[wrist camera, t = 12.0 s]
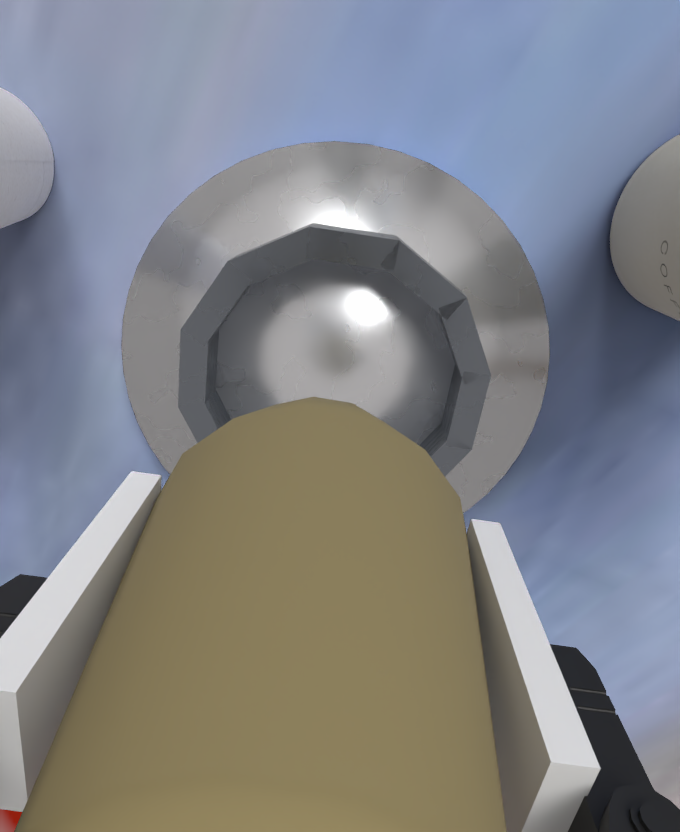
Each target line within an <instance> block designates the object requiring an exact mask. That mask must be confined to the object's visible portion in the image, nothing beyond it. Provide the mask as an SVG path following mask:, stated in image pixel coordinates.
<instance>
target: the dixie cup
mask: <svg viewBox="0 0 680 832" xmlns="http://www.w3.org/2000/svg"><path fill="white" fill-rule="evenodd" d="M53 178H54V157H53V152H52V148H51V144H50V141H49V139H48V136H47V134H46V132H45V130H44V128H43V126H42V125H41V123H40V121H39V120H38V119H37V117H36V116H35V115H34V113H33V112H32V111H31V110H30V109H29V108H28V107H27V106H26V105H25V104H24V103H23V102H22V101H21V100H20V99H19V98H17V97H16V96H14V95H13V94H12V93H10V92H8V91H6V90H5V89H3V88H0V229H1V228H4V227H6V226H9V225H11V224H14V223H17V222H19V221H22V220H24V219H27V218H28V217H30V216H32V215H33V214H35V213H36V212H37V211H38V210H39V209H40V208H41V207H42V206H43V204H44V203H45V201H46V200H47V198H48V196H49V194H50V191H51V188H52V184H53Z"/></svg>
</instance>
